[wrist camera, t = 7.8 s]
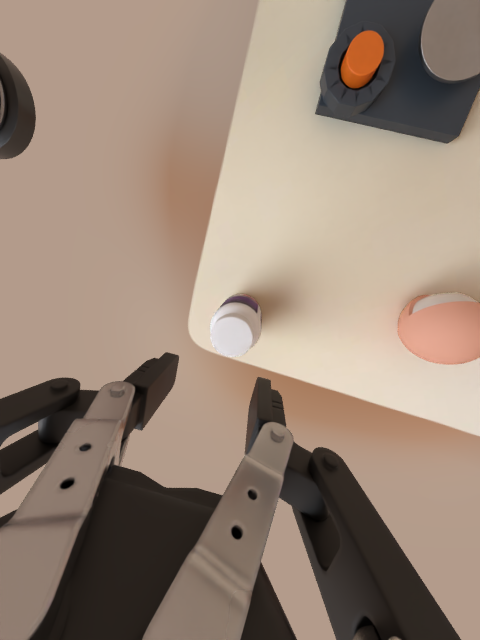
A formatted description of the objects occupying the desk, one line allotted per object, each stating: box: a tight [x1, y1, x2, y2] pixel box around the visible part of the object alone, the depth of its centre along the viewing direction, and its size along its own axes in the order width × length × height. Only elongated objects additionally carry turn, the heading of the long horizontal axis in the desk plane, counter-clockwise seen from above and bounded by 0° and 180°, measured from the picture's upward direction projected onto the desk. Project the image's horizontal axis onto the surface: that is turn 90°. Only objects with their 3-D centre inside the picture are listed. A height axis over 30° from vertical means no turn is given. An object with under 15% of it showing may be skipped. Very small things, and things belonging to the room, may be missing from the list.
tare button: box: [341, 30, 384, 88], centre depth 19 cm, size 3×3×2 cm
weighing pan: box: [418, 0, 480, 84], centre depth 18 cm, size 7×7×1 cm
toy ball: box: [398, 292, 480, 364], centre depth 24 cm, size 8×8×8 cm
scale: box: [315, 0, 480, 143], centre depth 20 cm, size 14×10×3 cm
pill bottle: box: [210, 294, 261, 357], centre depth 25 cm, size 5×5×10 cm
